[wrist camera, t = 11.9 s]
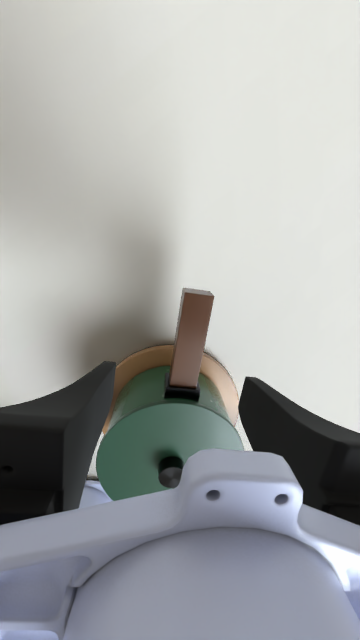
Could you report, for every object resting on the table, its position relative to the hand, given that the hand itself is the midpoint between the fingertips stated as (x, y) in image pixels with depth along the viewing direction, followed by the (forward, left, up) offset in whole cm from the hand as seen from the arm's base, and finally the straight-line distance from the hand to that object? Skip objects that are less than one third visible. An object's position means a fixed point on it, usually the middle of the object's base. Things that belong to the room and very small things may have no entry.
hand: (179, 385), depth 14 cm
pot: (-5, -1, -9) cm, 10 cm away
